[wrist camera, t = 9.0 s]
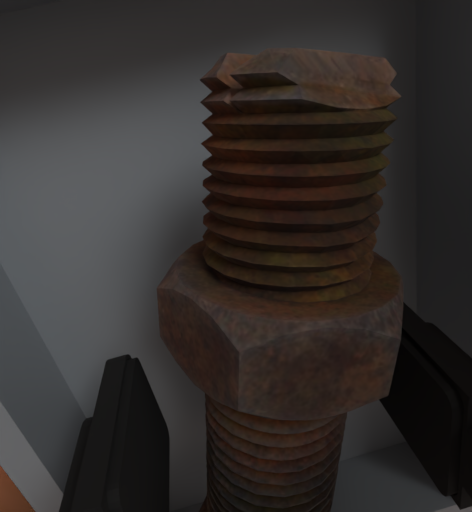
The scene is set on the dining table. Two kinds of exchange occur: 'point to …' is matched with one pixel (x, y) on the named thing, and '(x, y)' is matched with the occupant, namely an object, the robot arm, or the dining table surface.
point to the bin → (198, 212)
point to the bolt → (287, 273)
